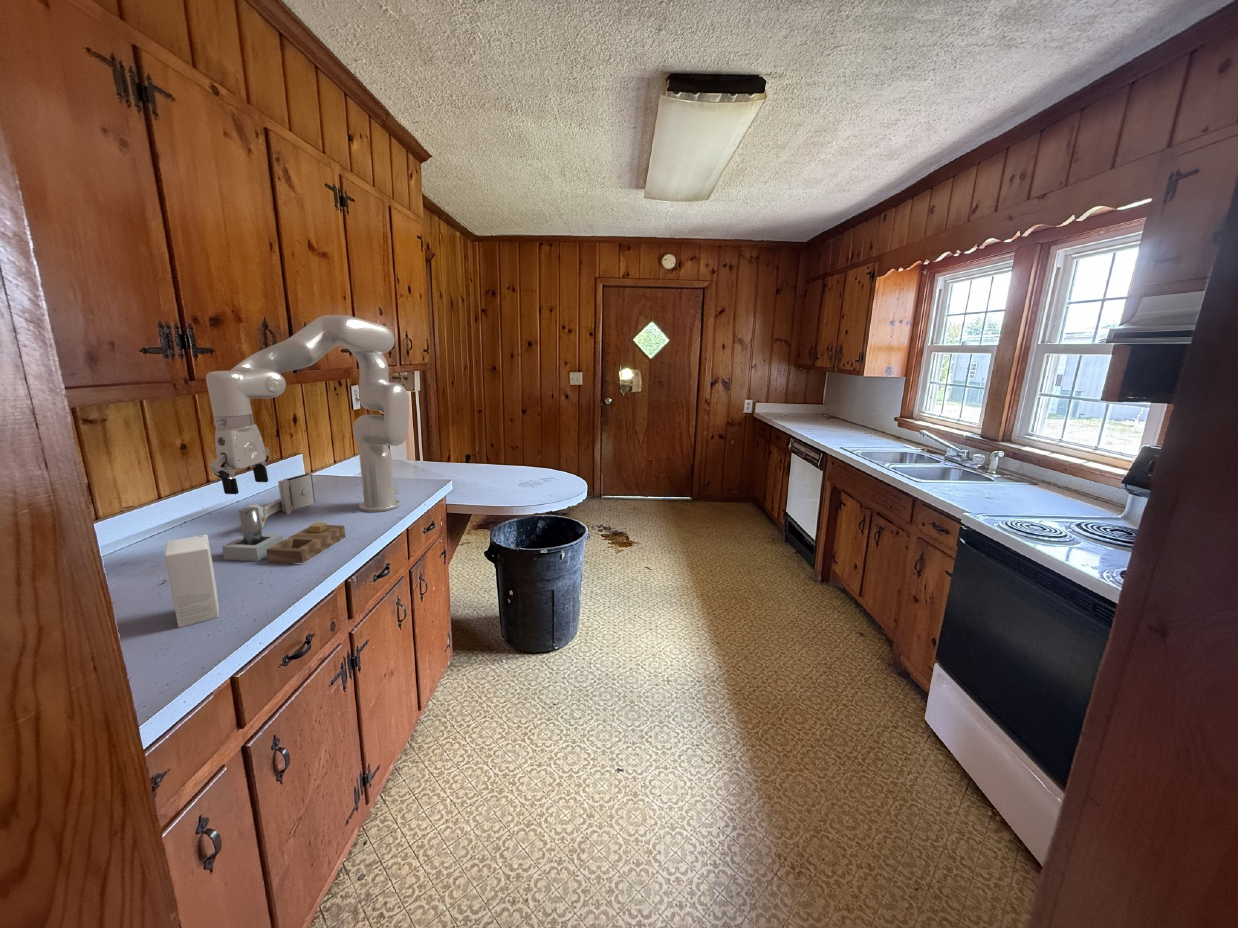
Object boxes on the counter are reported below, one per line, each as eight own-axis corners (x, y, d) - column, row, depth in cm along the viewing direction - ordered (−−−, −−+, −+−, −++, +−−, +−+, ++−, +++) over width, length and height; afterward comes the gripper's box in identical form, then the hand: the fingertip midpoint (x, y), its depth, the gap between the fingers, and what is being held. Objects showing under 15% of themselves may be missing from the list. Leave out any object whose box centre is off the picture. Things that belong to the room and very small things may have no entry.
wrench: (290, 512, 166) (255, 534, 138) (284, 512, 166) (247, 535, 137) (288, 489, 165) (252, 506, 137) (282, 489, 165) (244, 507, 136)
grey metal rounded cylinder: (254, 549, 129) (247, 506, 126) (268, 550, 129) (261, 507, 126) (242, 555, 125) (234, 511, 123) (256, 556, 125) (249, 512, 122)
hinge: (289, 515, 155) (284, 485, 153) (272, 514, 155) (268, 484, 153) (317, 501, 169) (313, 473, 166) (302, 501, 169) (298, 473, 167)
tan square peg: (318, 538, 136) (316, 522, 135) (328, 539, 136) (326, 522, 135) (311, 542, 133) (309, 525, 132) (321, 543, 133) (319, 526, 132)
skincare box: (179, 610, 100) (165, 540, 96) (220, 600, 104) (208, 533, 100) (177, 629, 93) (162, 554, 90) (221, 618, 97) (208, 546, 94)
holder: (252, 545, 132) (250, 533, 131) (284, 546, 131) (282, 534, 130) (224, 559, 123) (222, 546, 122) (258, 560, 123) (256, 548, 122)
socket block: (315, 535, 139) (313, 524, 139) (345, 536, 139) (344, 525, 138) (268, 562, 122) (266, 549, 121) (302, 564, 122) (300, 551, 121)
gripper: (219, 429, 111) (233, 499, 115) (275, 416, 127) (285, 478, 132) (188, 428, 111) (203, 498, 115) (247, 415, 128) (259, 477, 132)
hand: (247, 487), depth 124 cm, fingers open, 9 cm apart
